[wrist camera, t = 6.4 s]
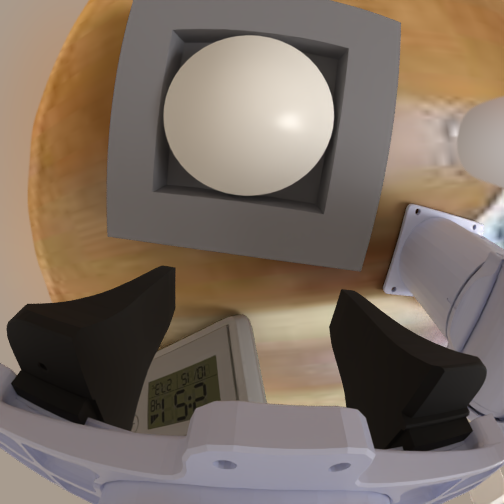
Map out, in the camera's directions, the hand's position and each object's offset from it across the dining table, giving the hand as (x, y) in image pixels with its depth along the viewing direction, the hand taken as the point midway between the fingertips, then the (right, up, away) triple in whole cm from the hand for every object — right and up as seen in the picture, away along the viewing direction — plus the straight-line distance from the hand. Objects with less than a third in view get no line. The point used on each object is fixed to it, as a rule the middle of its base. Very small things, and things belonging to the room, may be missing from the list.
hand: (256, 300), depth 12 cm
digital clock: (-6, -8, +15) cm, 19 cm away
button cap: (0, +11, +6) cm, 13 cm away
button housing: (0, +11, +7) cm, 13 cm away
